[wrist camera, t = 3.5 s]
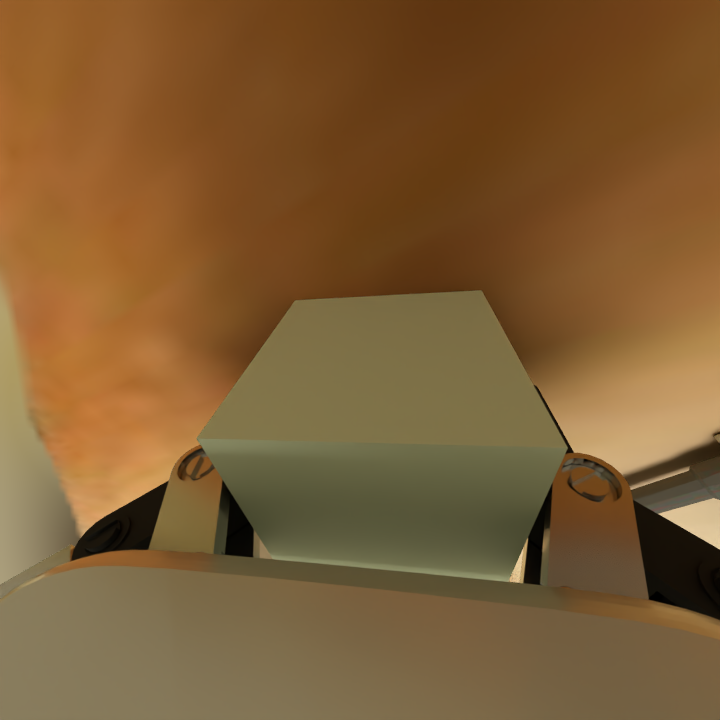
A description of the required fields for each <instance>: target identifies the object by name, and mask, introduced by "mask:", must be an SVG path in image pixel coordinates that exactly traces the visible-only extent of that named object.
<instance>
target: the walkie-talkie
mask: <svg viewBox="0 0 720 720" xmlns="http://www.w3.org/2000/svg"><path fill="white" fill-rule="evenodd" d="M714 437H715V438H716V440H717V441H718V442H719V443H720V434H718V435H715V436H714ZM631 492H632V498H633V500H634V501H636V502H638V503H640V504H641V505H643V506H645V507H647V508H648V509H650V510H652V511H654V512H655V513H657V514H658V513H662V512H665V511H669V510H672V509H676V508H679V507H683V506H686V505H690V504H694V503H697V502H701V501H704V500H708V499H711V498H716V499H719V500H720V456H717V457H714V458H711V459H708V460H705V461H702V462H699V463H696V464H694V465H691V466H690V468H689V471H687V472H684V473H681V474H678V475H675V476H672V477H669V478H666V479H663V480H660V481H657V482H654V483H651V484H648V485H645V486H642V487H639V488H636V489H633V490H631Z"/></svg>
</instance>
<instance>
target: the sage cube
mask: <svg viewBox="0 0 720 720" xmlns="http://www.w3.org/2000/svg"><path fill="white" fill-rule="evenodd" d="M197 440H198V442H199V443H200V445H201V446H202V448H203V449H204V451H205V453H206V454H207V456H208V457H209V459H210V461H211V462H212V464H213V465H214V467H215V468H216V470H217V472H218V473H219V475H220V476H221V478H222V480H223V481H224V483H225V484H226V486H227V487H228V489H229V491H230V492H231V494H232V495H233V497H234V499H235V500H236V502H237V503H238V505H239V506H240V508H241V510H242V511H243V513H244V514H245V516H246V517H247V519H248V521H249V522H250V524H251V525H252V527H253V529H254V530H255V532H256V533H257V535H258V536H259V538H260V540H261V541H262V543H263V544H264V546H265V548H266V549H267V551H268V552H269V554H270V555H271V557H272V559H275V560H286V561H297V562H308V563H319V564H330V565H340V566H351V567H361V568H372V569H382V570H393V571H403V572H414V573H424V574H434V575H444V576H454V577H464V578H474V579H485V580H495V581H505V582H508V581H509V578H510V576H511V574H512V572H513V569H514V567H515V565H516V563H517V560H518V558H519V556H520V554H521V551H522V549H523V547H524V545H525V543H526V540H527V538H528V536H529V534H530V531H531V529H532V527H533V525H534V522H535V520H536V518H537V516H538V514H539V511H540V509H541V507H542V505H543V502H544V500H545V498H546V496H547V493H548V491H549V489H550V487H551V484H552V482H553V480H554V478H555V476H556V473H557V471H558V469H559V467H560V464H561V462H562V460H563V458H564V455H565V453H566V451H567V449H568V447H567V445H566V444H565V442H564V440H563V438H562V436H561V434H560V433H559V431H558V429H557V427H556V425H555V423H554V422H553V420H552V418H551V416H550V414H549V412H548V411H547V409H546V407H545V405H544V403H543V402H542V400H541V398H540V396H539V394H538V392H537V391H536V389H535V387H534V385H533V383H532V381H531V380H530V378H529V376H528V374H527V372H526V370H525V369H524V367H523V365H522V363H521V361H520V359H519V358H518V356H517V354H516V352H515V350H514V349H513V347H512V345H511V343H510V341H509V339H508V338H507V336H506V334H505V332H504V330H503V328H502V327H501V325H500V323H499V321H498V319H497V317H496V316H495V314H494V312H493V310H492V308H491V307H490V305H489V303H488V301H487V299H486V297H485V296H484V294H483V292H482V290H476V291H457V292H439V293H420V294H401V295H383V296H364V297H345V298H327V299H308V300H295V301H294V303H293V304H292V305H291V307H290V308H289V310H288V311H287V312H286V314H285V315H284V317H283V318H282V319H281V321H280V322H279V324H278V325H277V326H276V328H275V329H274V331H273V332H272V333H271V335H270V336H269V338H268V339H267V340H266V342H265V343H264V345H263V346H262V347H261V349H260V350H259V352H258V353H257V354H256V356H255V357H254V359H253V360H252V361H251V363H250V364H249V366H248V367H247V368H246V370H245V371H244V373H243V374H242V375H241V377H240V378H239V380H238V381H237V382H236V384H235V385H234V387H233V388H232V389H231V391H230V392H229V394H228V395H227V396H226V398H225V399H224V401H223V402H222V403H221V405H220V406H219V408H218V409H217V411H216V412H215V413H214V415H213V416H212V418H211V419H210V420H209V422H208V423H207V425H206V426H205V427H204V429H203V430H202V432H201V433H200V434H199V436H198V437H197Z"/></svg>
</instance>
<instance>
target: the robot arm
mask: <svg viewBox="0 0 720 720" xmlns="http://www.w3.org/2000/svg"><path fill="white" fill-rule="evenodd" d="M534 387H535V389H536V391H537V392H538V394H539V396H540V398H541V400H542V402H543V403H544V405H545V407H546V409H547V411H548V412H549V414H550V416H551V418H552V420H553V422H554V423H555V425H556V427H557V429H558V431H559V433H560V434H561V436H562V438H563V440H564V442H565V444H566V445H567V447H568V449H567V451H566V453H565V455H564V458H563V460H562V462H561V464H560V467H559V469H558V471H557V473H556V476H555V478H554V480H553V482H552V484H551V487H550V489H549V491H548V493H547V496H546V498H545V500H544V502H543V505H542V507H541V509H540V511H539V514H538V516H537V518H536V520H535V522H534V525H533V527H532V529H531V531H530V534H529V536H528V538H527V540H526V543H525V545H524V549H523V557H522V566H521V575H520V583H515V582H505V581H495V580H485V579H474V578H464V577H454V576H444V575H434V574H424V573H414V572H403V571H393V570H382V569H372V568H361V567H351V566H340V565H330V564H319V563H308V562H297V561H286V560H275V559H264V558H260V538H259V536H258V535H257V533H256V532H255V530H254V529H253V527H252V525H251V524H250V522H249V521H248V519H247V517H246V516H245V514H244V513H243V511H242V510H241V508H240V506H239V505H238V503H237V502H236V500H235V499H234V497H233V495H232V494H231V492H230V491H229V489H228V487H227V486H226V484H225V483H224V481H223V480H222V478H221V476H220V475H219V473H218V472H217V470H216V468H215V467H214V465H213V464H212V462H211V461H210V459H209V457H208V456H207V454H206V453H205V451H204V449H203V448H202V446H201V445H199V446H196V447H194V448H192V449H191V450H189V451H187V452H186V453H185V454H184V455H183V456H181V457H180V459H179V460H178V461H177V462H176V463H175V465H174V467H173V469H172V472H171V475H170V479H169V481H167V482H165V483H164V484H162V485H160V486H158V487H157V488H155V489H153V490H151V491H150V492H148V493H146V494H144V495H142V496H141V497H139V498H137V499H135V500H134V501H132V502H130V503H128V504H127V505H125V506H123V507H121V508H119V509H118V510H116V511H114V512H112V513H111V514H109V515H107V516H105V517H104V518H102V519H101V520H99V521H98V522H96V523H95V524H94V525H93V526H92V527H91V528H89V529H88V530H87V531H86V532H85V534H84V535H83V536H82V537H81V538H80V540H79V541H78V543H77V545H76V546H75V547H74V546H73V545H71V544H70V545H69V546H67V547H65V548H63V549H62V550H60V551H58V552H56V553H55V554H53V555H51V556H49V557H48V558H46V559H44V560H42V561H41V562H39V563H37V564H36V565H34V566H32V567H30V568H29V569H27V570H25V571H23V572H22V573H20V574H18V575H16V576H15V577H13V578H11V579H9V580H8V581H6V582H4V583H2V584H1V585H0V720H720V550H719V549H718V548H716V547H714V546H713V545H711V544H709V543H707V542H706V541H704V540H702V539H700V538H699V537H697V536H695V535H693V534H692V533H690V532H688V531H686V530H685V529H683V528H681V527H680V526H678V525H676V524H674V523H673V522H671V521H669V520H667V519H666V518H664V517H662V516H660V515H659V514H657V513H655V512H654V511H652V510H650V509H648V508H647V507H645V506H643V505H641V504H640V503H638V502H636V501H634V500H633V498H632V492H631V490H630V487H629V484H628V482H627V481H626V480H625V478H624V477H623V476H622V474H621V473H620V472H618V471H617V470H616V469H615V468H614V467H613V466H611V465H609V464H608V463H606V462H604V461H603V460H601V459H599V458H596V457H593V456H591V455H587V454H582V453H574V452H573V450H572V448H571V446H570V445H569V443H568V441H567V439H566V438H565V436H564V434H563V432H562V430H561V429H560V427H559V425H558V423H557V421H556V420H555V418H554V416H553V414H552V412H551V411H550V409H549V407H548V405H547V403H546V402H545V400H544V398H543V396H542V394H541V393H540V391H539V389H538V388H537V387H536V386H535V385H534Z"/></svg>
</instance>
